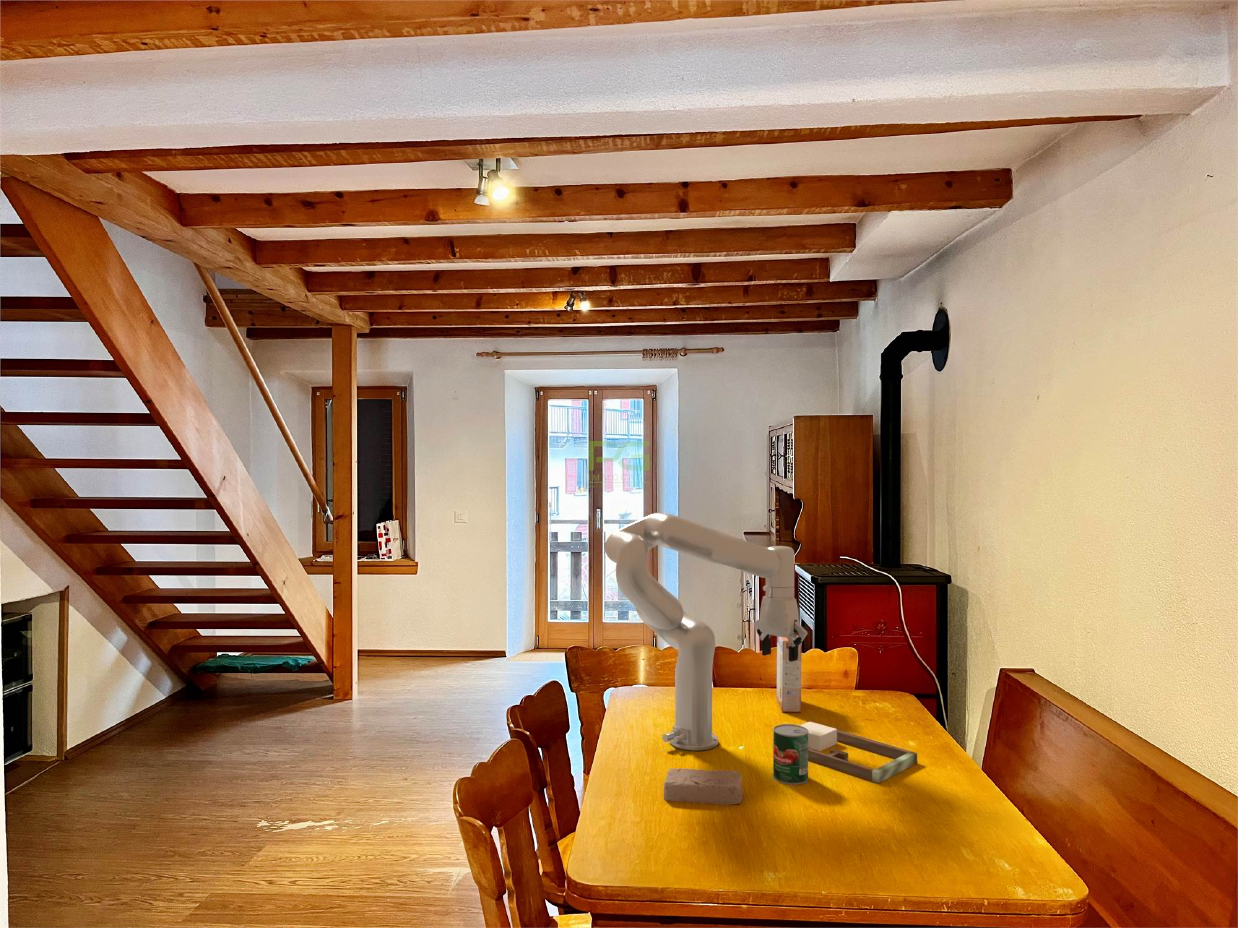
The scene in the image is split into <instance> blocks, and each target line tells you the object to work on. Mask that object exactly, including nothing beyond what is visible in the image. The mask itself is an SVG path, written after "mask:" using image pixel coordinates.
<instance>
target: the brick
mask: <svg viewBox="0 0 1238 928" xmlns="http://www.w3.org/2000/svg"><path fill="white" fill-rule="evenodd" d="M666 774H667V775H666V778H665V780H664V781H665V782H664V785H663V800H664V801H671V802H685V803H699V804H712V805H713V804H714V805H715V804H716V805H737V804H740V803H742V799H743V779H742V774H741V771H739V770H738V771H737V770H725V769H724V770H723V769H721V770H720V769H719V770H705V769H696V768H695V769H694V768H674V767H673V768H669V769H668V770H667V773H666Z"/></svg>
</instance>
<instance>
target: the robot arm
mask: <svg viewBox="0 0 1238 928" xmlns="http://www.w3.org/2000/svg"><path fill="white" fill-rule="evenodd" d="M656 546H661V547H663V548H666V549H670V550H672V551H676V552H678V553H681V554H685V555H688V556H691V557H693V558H695V559H698V560H702V561H705V562H709V563H711V564H716V565H722V566H727V567H730V568H734V569H736V570H740V571H741V572H743V573H746V574H748V575H752V576H755V577H756V576H757V577H760V578H764V579H765V585H763V587H762V590H763V591H764V592H765V595H764V596H762V599H761V604H760V605H761V606H760V611H759V613H760V614H759V619H757V620H756V621H754V622H753V626H754V628H755V630H756V633H757V634H758V636H759V640H760V641H761V655H762V656H768V655H771V654H772V639H770V637H772V636H775V637H777V636H779V637H784V638H787V639H788V641H789V643H790V645H791V646H789V661H790V662H793V661H796V660H798V646H799V645H800V643H802V644H803V642H804V641H805V638H806V637H807V635H808V631H807V630H806V629H805V628H804V627H803V626H802V625H801V624H800V619H799V608H798V602H797V598H795V550H794V549H793V548H792V547H791V546H785V545H772V546H768V547H767V546H762V545H760V544H756V543H753V542H751V541H748V540H744V539H742V538H738V537H736V536H732V535H731V534H728V533H725V532H723V531H721V530H718V529H715V528H712V527H708V526H706V525H703V524H699V523H697V522H694V521H691V520H690V519H687V518H686V519H685V518H683V517H680V516H677V515H675V514H670V513H663V512H654V513H652V514H649V515H647V516H644V517H643V518H640V519H638V520H636V521H634V522H632V523H630V524H628V525H626V526H624V527H622V528H620V529H616V530H615V531H614V532H612V533H611V534H610V535H609V536H608V537H607V539H606V540H605V544H604V551H605V554H606V556H607V557H608V558H609V560H610V561H612V562H613V563H614V564H615V563H616V565H615V577H616V578H615V579H616V582H617V586H618V588H619V590H620V592H621V594H622V595H623V596H624V597H625V598H626V599H627V600H628V601H629V602H630V603H631V604H632V605H633V606H634V607H635V610H636V613H637V615H638V617H639V619H640V621H642V622H643V623H644V624H645V625H647V626H648V628H650V630H652V631H653V632H654V633H655V634H656V635H657V636H659V638H661V639H662V640H663V641H664V642H665V643H666V644H667V645H669V646H670V647H671V648H673V649H675V650H676V651H678V653H677V659H676V665H675V671H674V681H675V686H674V688H675V690H674V693H675V695H674V696H675V697H674V699H675V701H674V703H675V706H674V708H675V709H674V710H675V711H674V713H675V714H674V716H675V717H674V720H675V721H674V723H675V725H672V730H671V731H670V732H667V733H664V734H662V741H663V742H664V743H667V742H669V744H670V745H672V746H673V747H675V748H678V749H681V750H684V751H685V750H686V751H695V752H696V751H706V750H711V749H713V748H715V747H717V746H718V744H719V737H718V736H717V735H716V734H715V733H713V662H714V655H715V649H716V636H715V633H714V632H713V631H714V630H713V629H712V628H711V627H710V625H708V623H706V622H704V621H703V620H700V619H698V618H696V617H693V616H691V615H689V614H688V613H687V612H685V610H684V608H683V605H682V604H681V602H680V600H679V599H678V598H677V597H676V596H675V595H673V594H672V593H671V592H670V591H668V590H667V589H666V588H665V587H664V586H663V585H662V584H661V583H660V582H658V580H657V579H656V578H655V577H654V576H653V575H652V574H651V572H650V571H649V567H648V566H649V565H648V561H649V553H650V552H649V551H650V550H651V549H653V548H655V547H656ZM797 635H798V637H797Z"/></svg>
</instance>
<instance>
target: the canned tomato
mask: <svg viewBox="0 0 1238 928" xmlns="http://www.w3.org/2000/svg"><path fill="white" fill-rule="evenodd" d="M772 731H773V734H772V736H773V742H772V743H773V747H772V748H773V749H772V751H773V754H772V755H773V758H772V759H773V764H772V766H773V767H772V769H773V770H772V771H773V774H772V778H773V779H774V780H775V781H777V783H780V784H785V785H791V786H792V785H793V786H796V785H804V784H806V783H807V782H808V781H809V760H808V733H809V732H808V729H806V728H805V727H802V726H800V725H799V724H791V723H783V724H778V725H776V726H773V728H772Z"/></svg>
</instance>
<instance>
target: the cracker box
mask: <svg viewBox="0 0 1238 928" xmlns="http://www.w3.org/2000/svg"><path fill="white" fill-rule="evenodd" d="M797 637H799V634H798V635H797ZM802 644H803V642H802V643H800V645H799V646H798V660H796V661H793V662H790V661H789V646H791V645H790V643H789V641H788V639H787V638H784V637H779V636H776V652H777V653H776V700H777V702H778V705H779V708H780V710H781V712H783V713H802V659H803V658H802V657H803V653H802V652H803V651H802V649H803V645H802Z"/></svg>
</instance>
